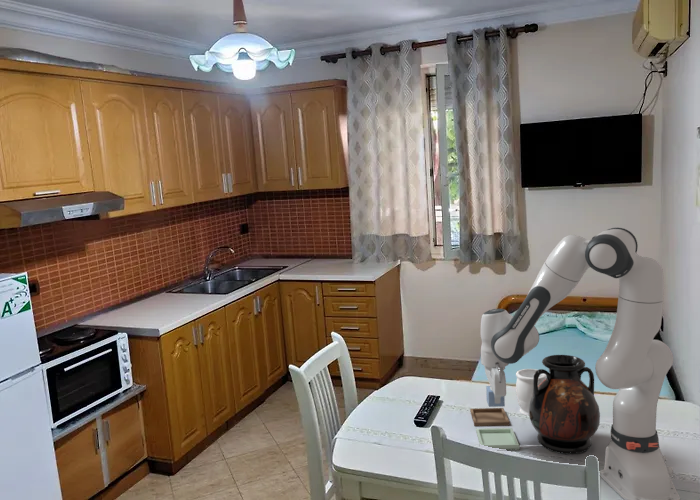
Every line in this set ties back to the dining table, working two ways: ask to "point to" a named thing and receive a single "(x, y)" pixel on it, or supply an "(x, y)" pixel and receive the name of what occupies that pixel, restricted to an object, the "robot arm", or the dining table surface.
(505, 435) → the sage tray
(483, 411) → the walnut tray
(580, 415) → the amphora vase
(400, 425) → the dining table surface
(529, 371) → the jar
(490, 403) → the letter cube
